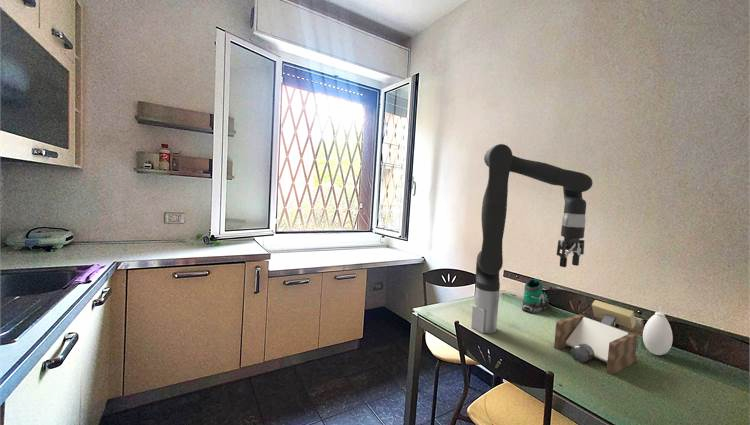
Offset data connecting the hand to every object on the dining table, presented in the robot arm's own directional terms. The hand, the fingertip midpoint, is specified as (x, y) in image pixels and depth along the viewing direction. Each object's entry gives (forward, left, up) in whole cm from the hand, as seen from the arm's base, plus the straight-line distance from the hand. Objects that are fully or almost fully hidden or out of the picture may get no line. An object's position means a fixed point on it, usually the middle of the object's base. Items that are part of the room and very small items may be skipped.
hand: (569, 266), depth 116 cm
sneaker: (+21, +25, -29) cm, 44 cm away
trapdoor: (+2, -12, -24) cm, 27 cm away
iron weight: (-9, -12, -27) cm, 31 cm away
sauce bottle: (+19, -22, -29) cm, 42 cm away
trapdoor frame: (-4, -12, -29) cm, 32 cm away
